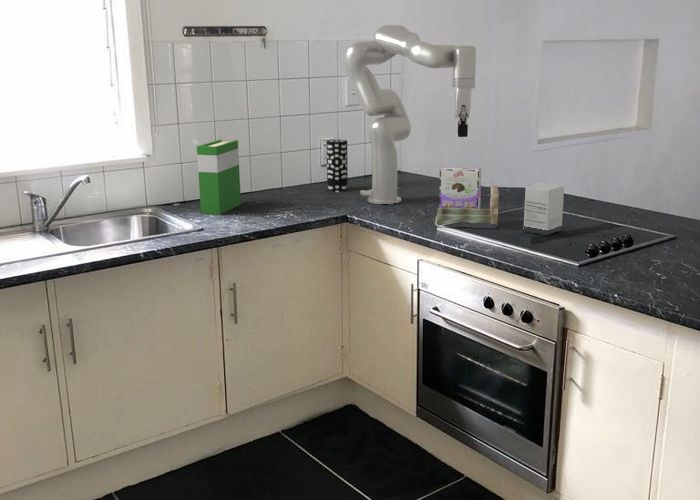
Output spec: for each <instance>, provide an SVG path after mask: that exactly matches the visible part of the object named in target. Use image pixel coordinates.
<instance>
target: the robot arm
mask: <svg viewBox="0 0 700 500" xmlns="http://www.w3.org/2000/svg"><path fill="white" fill-rule="evenodd" d="M373 39H374V40H370V41H369V40H367V41H366V40H363V41H361V40H360V41H356V42H353V43H352V44H350V45H349V46H348V47H347V49H346V51H345V54H344V61H343V64H344V69H345V71H346V74H347V76H348V77H349V79H350V81H351V83H352V85H353V87H354V90H355V92H356V95H357V97H358V100H359V101H360V104H361V106H362V109H363V111H364V112H365V114H366V115H367V116H370V117H378V116H379V117H378V118H376V119H375V120H373V121H372V122H371V124H370V125H369V131H368V132H369V139H370V146H371V189H368V190H366V189H365V190H361V189H360V191H359V193H360V194H359V195H360V196H362V197H368V198H367V202H368V203H370V204H372V205H373V204H374V205H381V204H388V205H394V204H393V203H397V204H400V203H401V202H402V198H401V197H400V196H398V151H397V148H396V145H395V142H400V141H403V140H406V139H408V137H409V136H410V134H411V131H412V127H411V126H412V125H411V122H410V120H409V116H408V115H407V112H406V110H405V107H404V104H403V102H402V100H401V98H400V96H399V95H398V94H397V93H396V91H394V90H393V89H388V88H383V89H382V88H381V87H380V86H379V83H378V82H377V79H376V76H375V75H374V73H373V72H372V71H371V70H370V69H369V68H368V67H367V66H374V65H381V64H384V63H386V62H387V61H389V60H391V59H392V58H394V57H395V56H397V55H399V56H402V57H406V58H407V59H409V60H410V61H411V62H412V63H415V64H418V65H420V66H423V67H426V68H430V69H446V68H447V69H448V68H449V69H450V68H452V89H455V91H454V92H455V93H454V118H455V119H457V118H458V121H457V137H459V138H467V137H468V130H469V129H468V128H469V125H468V119H469V118H470V115H471V105H472V89H476V73H477V71H476V69H477V49H476V47H475V46H474V45H468V44H467V45H455V44H431V43H429V42H425V41H422V40H421V38H420V36H419V35H418V33H416V32H412V31H409V29H408V28H407V27H405V26H403V25H402V24H401V25H400V24H384V25H381V26H380V27H378V28H377V29H376V30H375V33H374V36H373ZM380 116H381V117H380ZM399 202H400V203H399Z"/></svg>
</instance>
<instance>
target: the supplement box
mask: <svg viewBox="0 0 700 500" xmlns="http://www.w3.org/2000/svg"><path fill="white" fill-rule="evenodd" d="M524 192H525V193H524V212H523V213H524V214H523V215H524V216H523V227H524V226H525V227H531V228H537V229H542V230H547V231H548V230H551V229H554V228H556V227H559V226H562V227H563V216H564V215H563V212H564V196H565V195H564V194H565V186H564V185H563V184H561V185H560V184H554V183H546V182H538V183H534V184H531V185H526V186H525V191H524Z"/></svg>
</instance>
